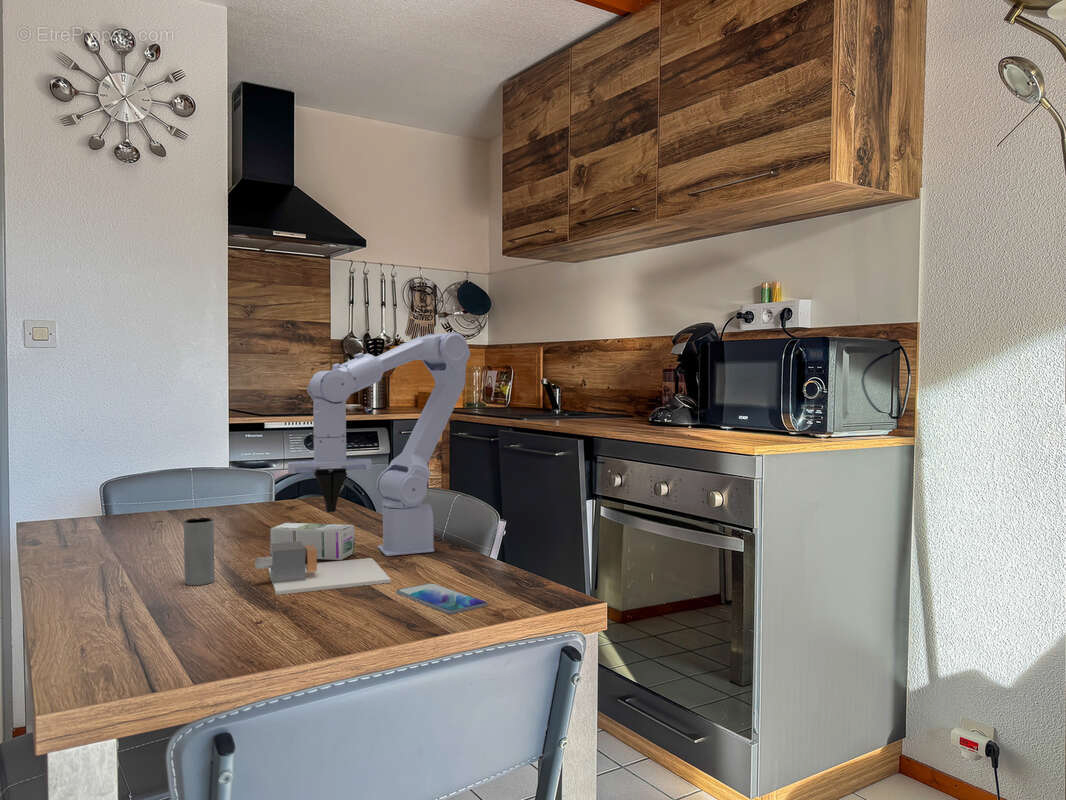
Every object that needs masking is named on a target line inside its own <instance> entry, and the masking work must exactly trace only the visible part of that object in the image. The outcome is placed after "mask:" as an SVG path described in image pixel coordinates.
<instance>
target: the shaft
mask: <svg viewBox="0 0 1066 800" xmlns="http://www.w3.org/2000/svg"><path fill="white" fill-rule="evenodd" d="M317 563H318V559H317V549H316V548H315V546H314V545H307V546H305V568H306V570H307V572H315V571H317ZM254 567H255V570H258V569H259V570H260V569H261V570H262V569H269V568H271V567H272V556H260V557H254Z"/></svg>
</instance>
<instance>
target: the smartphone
mask: <svg viewBox="0 0 1066 800" xmlns="http://www.w3.org/2000/svg"><path fill="white" fill-rule="evenodd" d="M396 593H397V594H396ZM395 594H396V595H398V594H399V595H398V596H400V595H402V596H401V597H403V596H405V597H407V598H406V599H408V598H410V599H409V600H411V599H412V600H411V601H413V600H414V601H413V602H416V601H417V602H416V603H418V602H419V604H421V605H423V604H424V605H423V606H427V607H428V608H431V609H434V610H436V611H438V610H439V612H441V613H443V612H444V613H443V614H446V613H447V615H456V613H457V614H460V613H459V612H461V613H465V612H468V610H469V611H472V609H473V610H476V609H477V610H478V609H480V608H484V607H487V606H488V602H487V601H485V600H483V599H482V600H481V599H480V598H477V597H474V596H471V595H467V594H465V593H461V592H459V591H456V590H454V589H451V588H447V587H445V586H442V585H439V584H436V583H425V584H420V585H414V586H409V587H403V588H399V589H397V590H396V591H395ZM405 597H404V598H405ZM464 611H465V612H464Z"/></svg>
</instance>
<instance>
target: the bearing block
mask: <svg viewBox="0 0 1066 800" xmlns="http://www.w3.org/2000/svg"><path fill="white" fill-rule="evenodd" d="M269 547H270V549H269V554H270V556H272V567H271V577H272V580H273V583H281V582H291V581H300V580H305V547H304V546H303V544H302V542H301V541H298V542H286V543H274V544H269ZM270 556H269V557H270ZM271 577H270V578H271Z"/></svg>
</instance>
